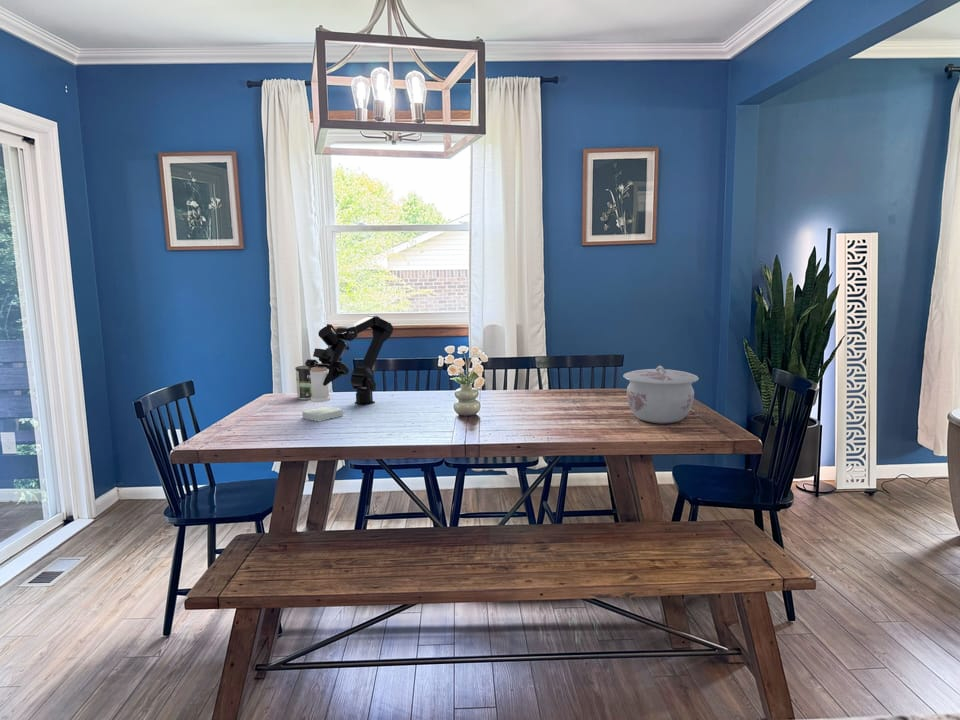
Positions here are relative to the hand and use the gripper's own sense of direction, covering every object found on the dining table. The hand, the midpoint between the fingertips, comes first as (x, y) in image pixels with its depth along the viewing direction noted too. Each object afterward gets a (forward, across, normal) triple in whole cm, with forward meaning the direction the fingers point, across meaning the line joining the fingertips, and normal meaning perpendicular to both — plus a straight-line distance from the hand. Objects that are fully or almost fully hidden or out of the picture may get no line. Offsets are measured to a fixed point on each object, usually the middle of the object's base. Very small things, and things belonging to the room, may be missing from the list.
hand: (317, 384), depth 249 cm
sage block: (+8, +1, +10) cm, 13 cm away
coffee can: (-9, -31, +28) cm, 43 cm away
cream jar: (+4, 0, +6) cm, 7 cm away
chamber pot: (-29, +120, +49) cm, 133 cm away
